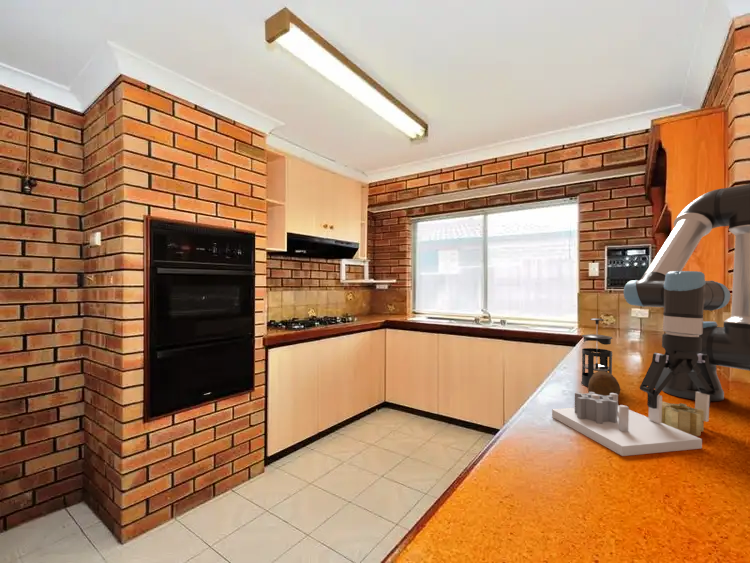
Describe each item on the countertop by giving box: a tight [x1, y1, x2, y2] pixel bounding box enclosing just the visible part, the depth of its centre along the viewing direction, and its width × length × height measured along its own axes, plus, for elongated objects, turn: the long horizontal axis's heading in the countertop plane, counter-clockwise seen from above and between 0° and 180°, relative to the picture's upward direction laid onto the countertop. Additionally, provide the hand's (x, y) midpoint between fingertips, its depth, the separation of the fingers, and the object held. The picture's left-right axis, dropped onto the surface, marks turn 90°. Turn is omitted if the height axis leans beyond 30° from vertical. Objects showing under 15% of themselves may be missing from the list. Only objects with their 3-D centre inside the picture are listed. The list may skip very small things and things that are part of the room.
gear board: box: [551, 391, 703, 457], centre depth 89 cm, size 20×22×8 cm
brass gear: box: [661, 400, 705, 437], centre depth 91 cm, size 9×9×5 cm
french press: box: [580, 317, 613, 388], centre depth 128 cm, size 12×9×23 cm
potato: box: [587, 371, 622, 397], centre depth 112 cm, size 8×12×9 cm
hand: (678, 421), depth 91 cm, fingers open, 13 cm apart
